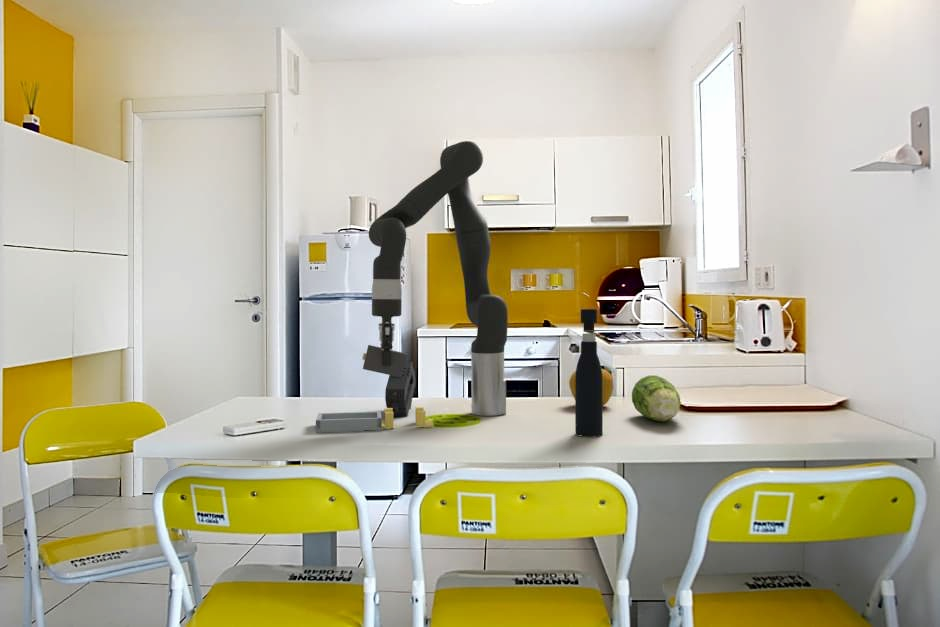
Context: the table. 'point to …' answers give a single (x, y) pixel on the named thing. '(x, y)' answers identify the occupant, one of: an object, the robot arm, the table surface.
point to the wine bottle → (588, 382)
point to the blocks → (418, 413)
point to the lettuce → (656, 398)
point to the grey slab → (375, 361)
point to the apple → (606, 385)
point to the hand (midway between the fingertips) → (386, 364)
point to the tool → (401, 391)
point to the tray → (348, 421)
